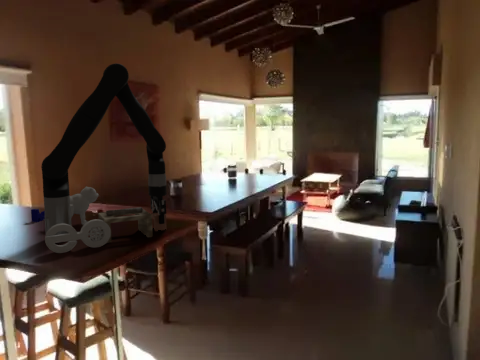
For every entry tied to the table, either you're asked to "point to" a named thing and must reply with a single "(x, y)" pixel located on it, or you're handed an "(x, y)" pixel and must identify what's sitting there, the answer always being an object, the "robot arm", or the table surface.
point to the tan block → (156, 222)
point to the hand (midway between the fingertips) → (158, 221)
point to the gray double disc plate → (78, 235)
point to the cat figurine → (82, 202)
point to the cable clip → (37, 215)
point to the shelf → (129, 219)
